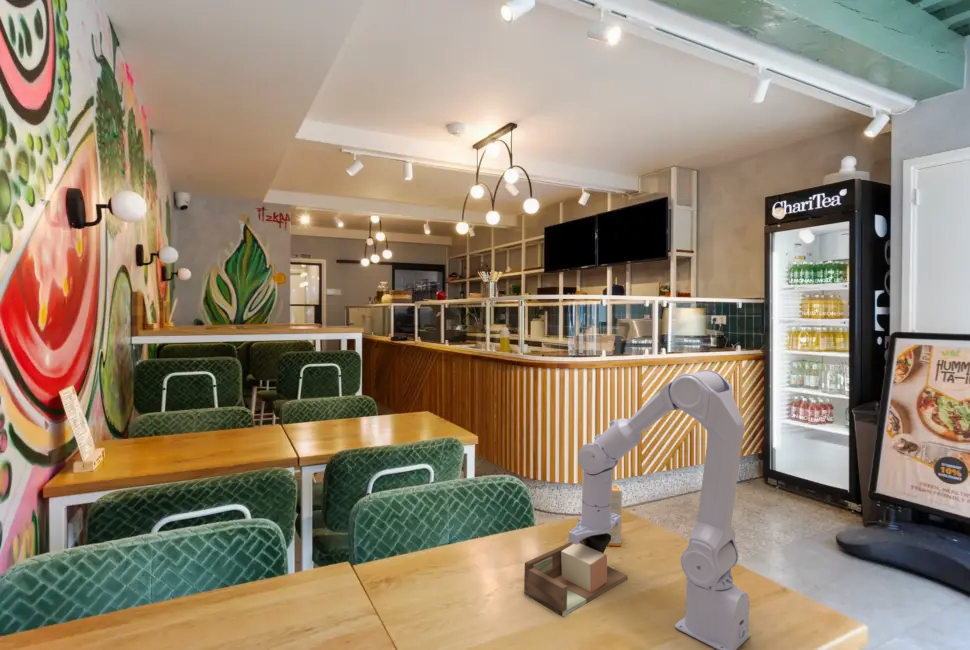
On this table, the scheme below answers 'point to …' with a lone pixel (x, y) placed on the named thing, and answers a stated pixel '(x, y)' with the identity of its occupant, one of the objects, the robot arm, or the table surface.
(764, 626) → the table surface
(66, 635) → the table surface
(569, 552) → the cream rectangular block
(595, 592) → the shelf
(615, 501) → the supplement box
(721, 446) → the robot arm
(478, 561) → the table surface
